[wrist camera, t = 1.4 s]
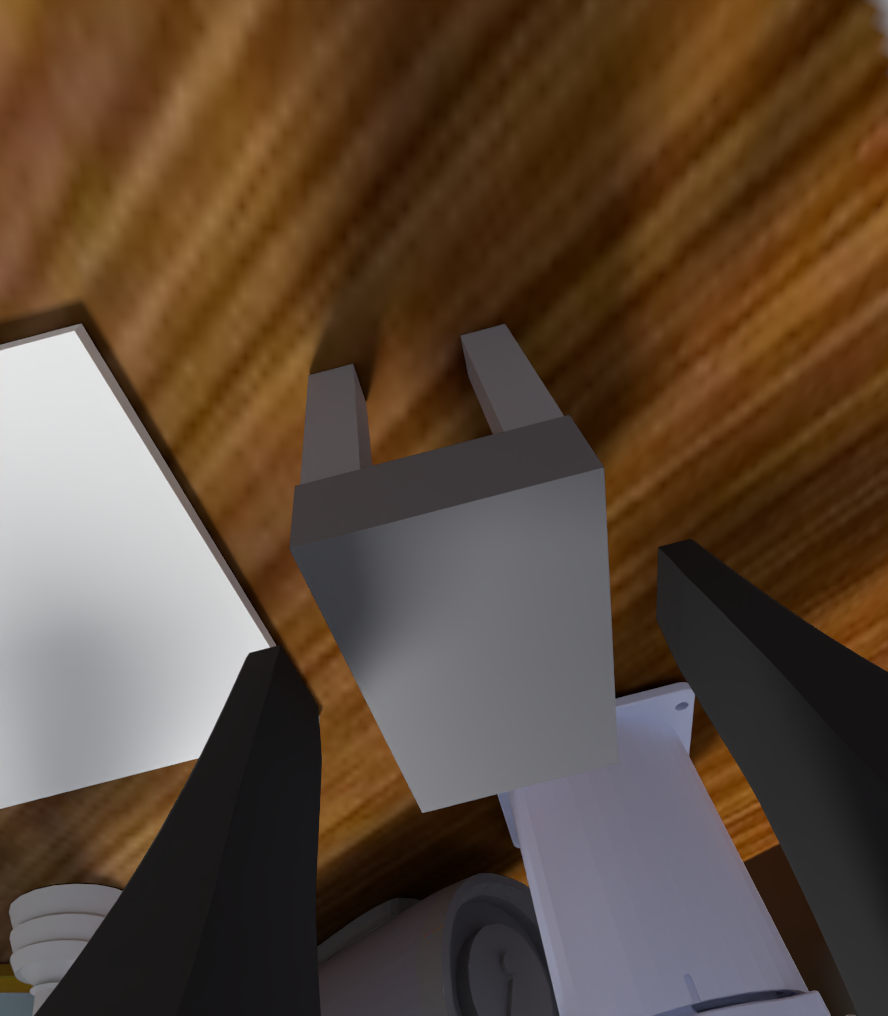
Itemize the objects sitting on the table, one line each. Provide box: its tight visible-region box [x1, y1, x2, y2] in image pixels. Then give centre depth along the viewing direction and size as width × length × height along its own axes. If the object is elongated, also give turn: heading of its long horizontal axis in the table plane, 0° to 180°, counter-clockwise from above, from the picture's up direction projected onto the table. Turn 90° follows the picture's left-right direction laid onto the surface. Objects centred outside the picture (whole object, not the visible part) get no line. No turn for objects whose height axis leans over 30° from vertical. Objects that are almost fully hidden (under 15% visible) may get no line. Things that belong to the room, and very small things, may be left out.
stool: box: [289, 324, 618, 813], centre depth 13 cm, size 8×4×6 cm, turn 12°
